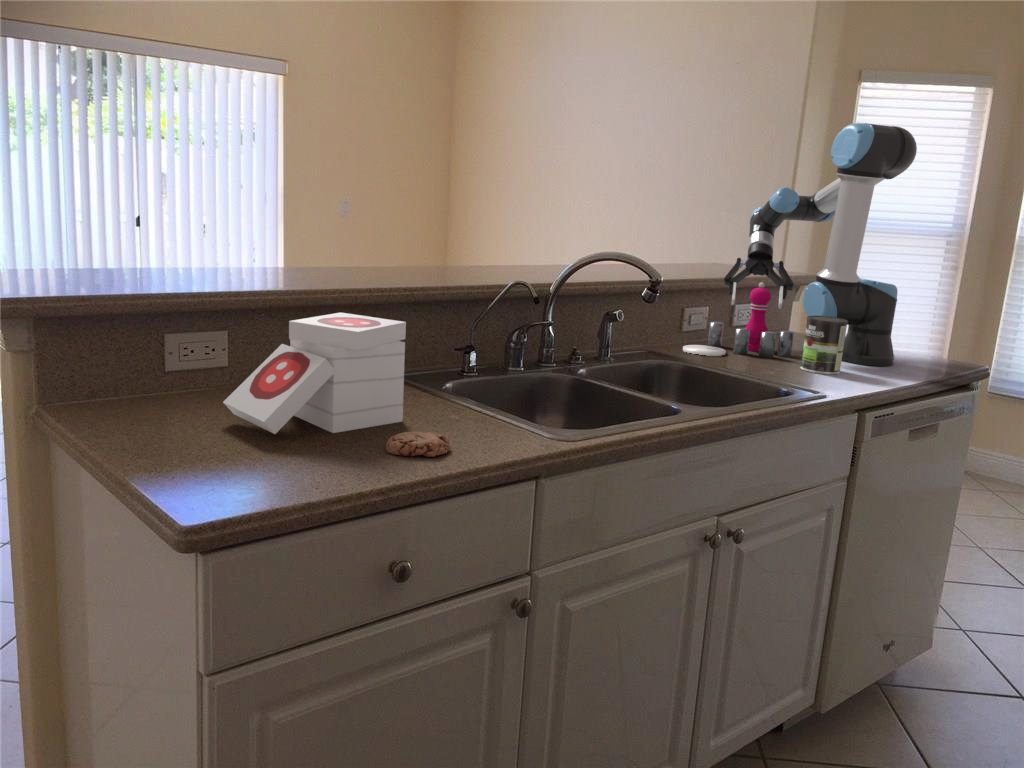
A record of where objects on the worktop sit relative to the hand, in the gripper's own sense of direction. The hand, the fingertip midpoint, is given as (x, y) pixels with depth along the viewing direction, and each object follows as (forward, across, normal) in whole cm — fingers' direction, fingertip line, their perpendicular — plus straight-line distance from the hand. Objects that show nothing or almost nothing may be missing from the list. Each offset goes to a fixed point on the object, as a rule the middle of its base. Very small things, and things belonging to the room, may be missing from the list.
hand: (756, 304), depth 265 cm
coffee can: (+28, -17, +10) cm, 34 cm away
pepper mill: (+12, -1, -7) cm, 14 cm away
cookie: (+107, +58, +88) cm, 150 cm away
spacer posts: (+14, +1, -5) cm, 15 cm away
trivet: (+20, +14, +2) cm, 25 cm away
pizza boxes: (+100, +80, +82) cm, 152 cm away
